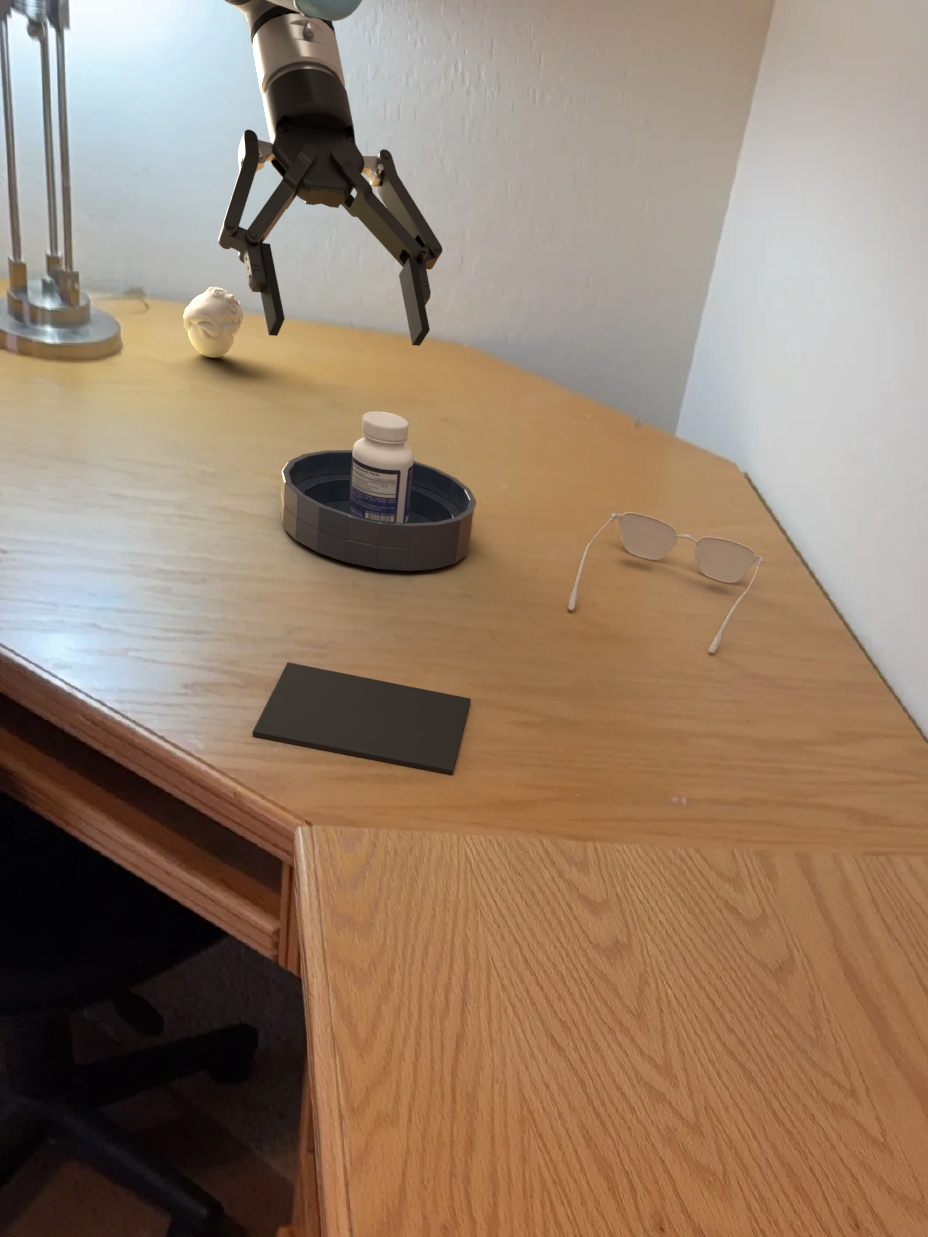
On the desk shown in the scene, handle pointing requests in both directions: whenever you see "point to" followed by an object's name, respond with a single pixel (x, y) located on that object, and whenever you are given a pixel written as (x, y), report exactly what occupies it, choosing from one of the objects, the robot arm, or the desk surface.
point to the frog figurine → (213, 321)
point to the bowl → (326, 526)
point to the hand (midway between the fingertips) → (350, 333)
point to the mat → (365, 718)
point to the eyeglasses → (660, 537)
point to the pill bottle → (381, 469)
